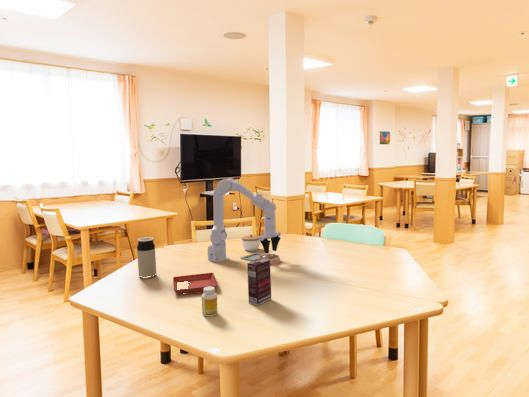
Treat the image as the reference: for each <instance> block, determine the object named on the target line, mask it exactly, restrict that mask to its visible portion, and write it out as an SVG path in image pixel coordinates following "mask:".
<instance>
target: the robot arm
mask: <svg viewBox="0 0 529 397" xmlns="http://www.w3.org/2000/svg"><path fill="white" fill-rule="evenodd" d="M228 192H238V193H240V194H241V195H243V196H244V197H247V198H248V199H250V202H251V203H252V204H253V205H254V206H256V207H257V208H259V209H260V210H262V212H263V213H264V218H263V221H264V234H262V235H260V237H259V240H260V245H261V246H262V248H263V252H264V254H270V245H271V250H272V251H273V252H277V249H278V245H279V242H280V240H281V231H276V230H277V228H276V227H277V226H276V225H277V224H276V222H277V221H276V210H277V206H276V203H274V202H273V201H271V200H270V199H267V198H265V197H264V196H263V194H261V193H254V192H252V191H251V190H250V189H249V188H247V187H246V186H245V185H244V184H242V183H240V182H239V181H238V180H235V179H234V177H233V178H232V177H228V178H224V179H221V180H220V181H218V182H217V185H216V188H215V189H214V191H213V195H212V197H213V227H212V229H211V234H210V238H209V240H210V242H211V245H209V246H208V248H207V259H208V260H210V261H209V262H212V261H214V262H213V263H216V262H217V263H220V261H221V262H223V260H224V261H227V260H230V257H227V247H226V246H227V245H226V239H227V237H228V233H227V230H226V226H225V225H224V224H225V223H224V222H225V220H224V218H225V217H224V216H225V215H224V214H225V212H224V211H225V210H224V209H225V206H224V202H225V201H224V199H225V198H224V197H225V195H226V194H227V193H228ZM269 239H270V240H269ZM270 243H271V244H270ZM208 260H207V261H208Z"/></svg>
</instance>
